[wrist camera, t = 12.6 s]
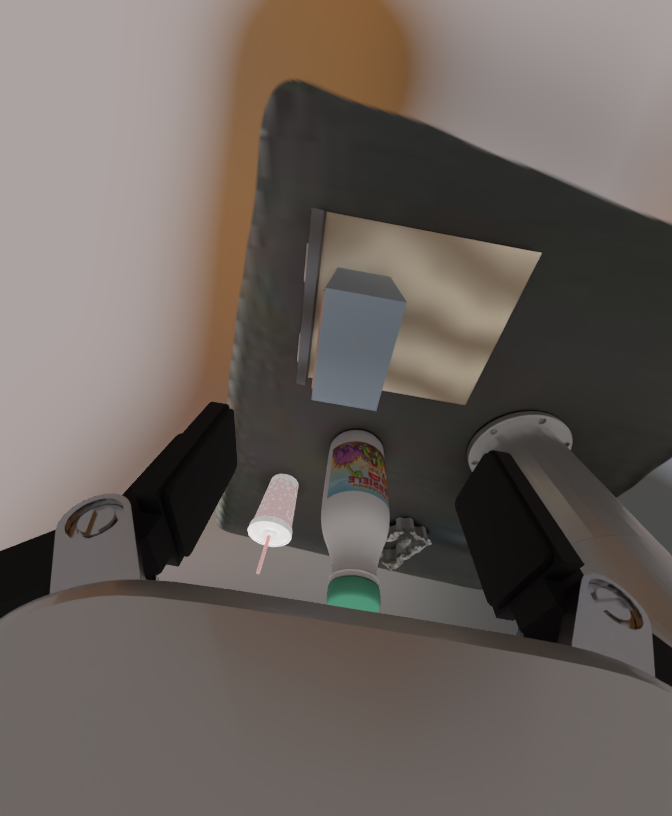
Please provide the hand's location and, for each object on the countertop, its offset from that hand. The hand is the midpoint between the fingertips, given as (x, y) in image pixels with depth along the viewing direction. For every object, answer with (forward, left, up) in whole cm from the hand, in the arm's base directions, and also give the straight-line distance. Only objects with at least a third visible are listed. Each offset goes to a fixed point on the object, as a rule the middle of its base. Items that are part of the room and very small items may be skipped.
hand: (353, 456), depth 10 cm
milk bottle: (-19, -4, -23) cm, 30 cm away
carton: (0, 0, -21) cm, 21 cm away
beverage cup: (-29, +6, -23) cm, 37 cm away
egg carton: (-38, -15, -23) cm, 46 cm away
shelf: (0, -5, -22) cm, 23 cm away
